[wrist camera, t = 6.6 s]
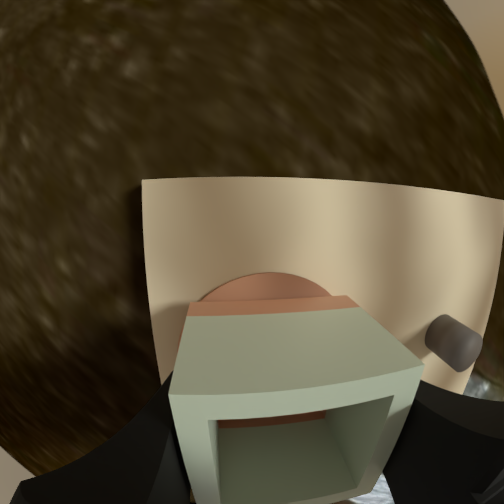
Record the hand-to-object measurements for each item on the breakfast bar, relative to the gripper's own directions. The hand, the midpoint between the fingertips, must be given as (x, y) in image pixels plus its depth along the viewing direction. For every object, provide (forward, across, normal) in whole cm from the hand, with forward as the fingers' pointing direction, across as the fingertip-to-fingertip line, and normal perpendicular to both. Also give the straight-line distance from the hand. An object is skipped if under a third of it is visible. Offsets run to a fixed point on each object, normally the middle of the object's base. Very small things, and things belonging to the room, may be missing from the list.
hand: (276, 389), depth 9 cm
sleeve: (+1, 0, 0) cm, 1 cm away
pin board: (+3, -4, 0) cm, 6 cm away
